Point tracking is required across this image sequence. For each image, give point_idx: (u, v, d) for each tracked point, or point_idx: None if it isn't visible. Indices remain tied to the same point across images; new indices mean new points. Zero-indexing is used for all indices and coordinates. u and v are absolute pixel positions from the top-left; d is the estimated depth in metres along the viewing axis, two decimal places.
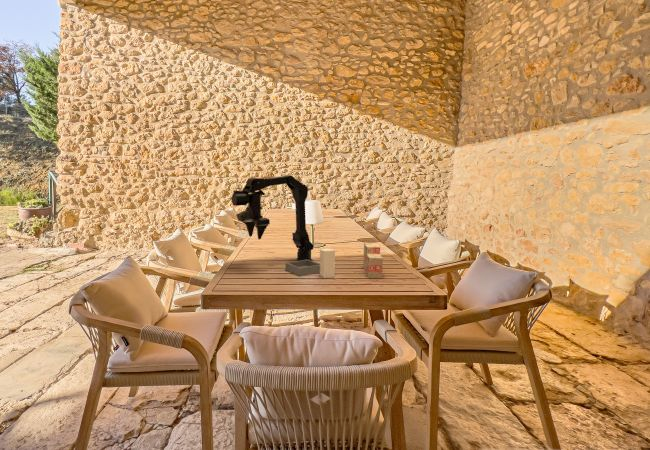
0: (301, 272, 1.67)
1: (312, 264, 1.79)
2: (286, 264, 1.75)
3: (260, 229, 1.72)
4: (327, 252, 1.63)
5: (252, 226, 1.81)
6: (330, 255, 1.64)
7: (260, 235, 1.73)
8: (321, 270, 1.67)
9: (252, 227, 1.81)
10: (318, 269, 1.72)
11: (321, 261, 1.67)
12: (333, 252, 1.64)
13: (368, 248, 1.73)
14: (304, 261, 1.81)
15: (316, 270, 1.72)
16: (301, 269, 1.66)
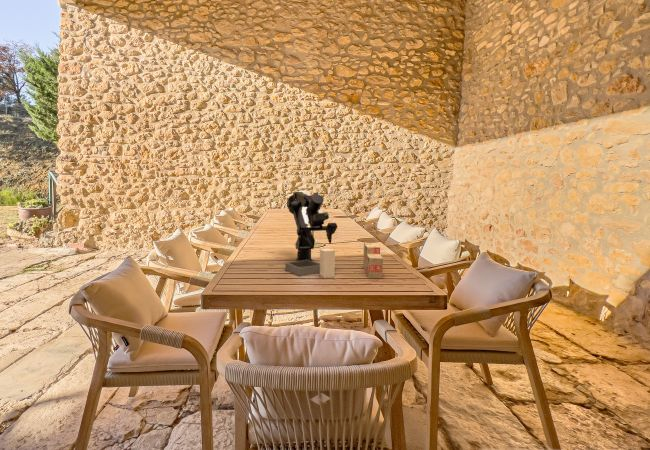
0: (301, 272, 1.67)
1: (312, 264, 1.79)
2: (286, 264, 1.75)
3: None
4: (327, 252, 1.63)
5: None
6: (330, 255, 1.64)
7: None
8: (321, 270, 1.67)
9: None
10: (318, 269, 1.72)
11: (321, 261, 1.67)
12: (333, 252, 1.64)
13: (368, 248, 1.72)
14: (304, 261, 1.81)
15: (316, 270, 1.72)
16: (301, 269, 1.66)
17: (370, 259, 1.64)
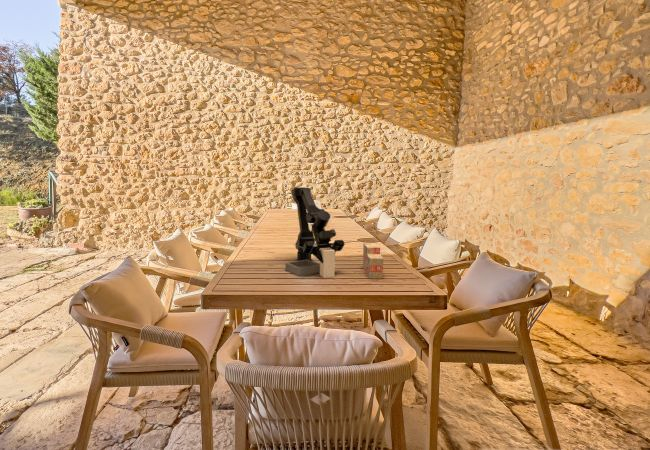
0: (301, 272, 1.67)
1: (312, 264, 1.79)
2: (286, 264, 1.75)
3: None
4: (327, 252, 1.63)
5: None
6: (330, 255, 1.64)
7: None
8: (321, 270, 1.67)
9: None
10: (318, 269, 1.72)
11: None
12: (333, 252, 1.64)
13: (368, 248, 1.72)
14: (304, 261, 1.81)
15: (316, 270, 1.72)
16: (301, 269, 1.66)
17: (370, 259, 1.64)
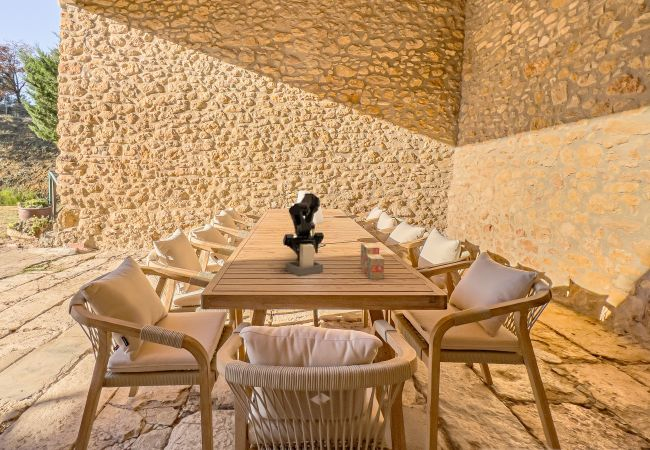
0: (301, 272, 1.67)
1: None
2: (286, 264, 1.75)
3: None
4: (306, 247, 1.69)
5: None
6: (309, 250, 1.70)
7: None
8: (301, 264, 1.73)
9: None
10: (318, 269, 1.72)
11: (300, 256, 1.73)
12: (312, 247, 1.70)
13: (368, 249, 1.71)
14: None
15: (316, 270, 1.72)
16: (301, 269, 1.66)
17: (371, 260, 1.63)
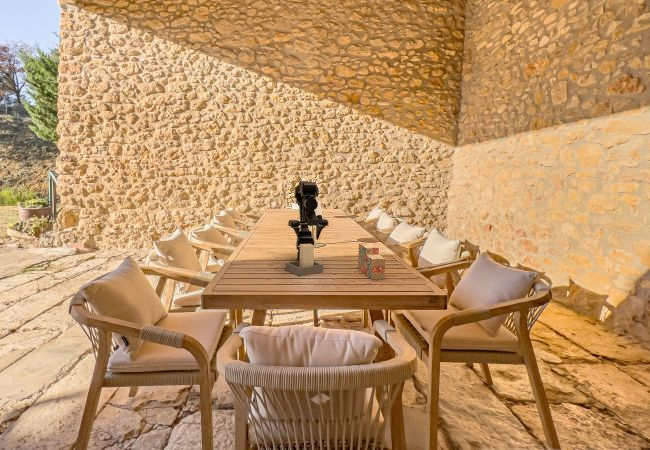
0: (301, 272, 1.67)
1: None
2: (286, 264, 1.75)
3: None
4: (306, 247, 1.69)
5: None
6: (309, 250, 1.70)
7: None
8: (301, 264, 1.73)
9: None
10: (318, 269, 1.72)
11: (300, 256, 1.73)
12: (312, 247, 1.70)
13: (367, 249, 1.71)
14: None
15: (316, 270, 1.72)
16: (301, 269, 1.66)
17: (373, 260, 1.62)
